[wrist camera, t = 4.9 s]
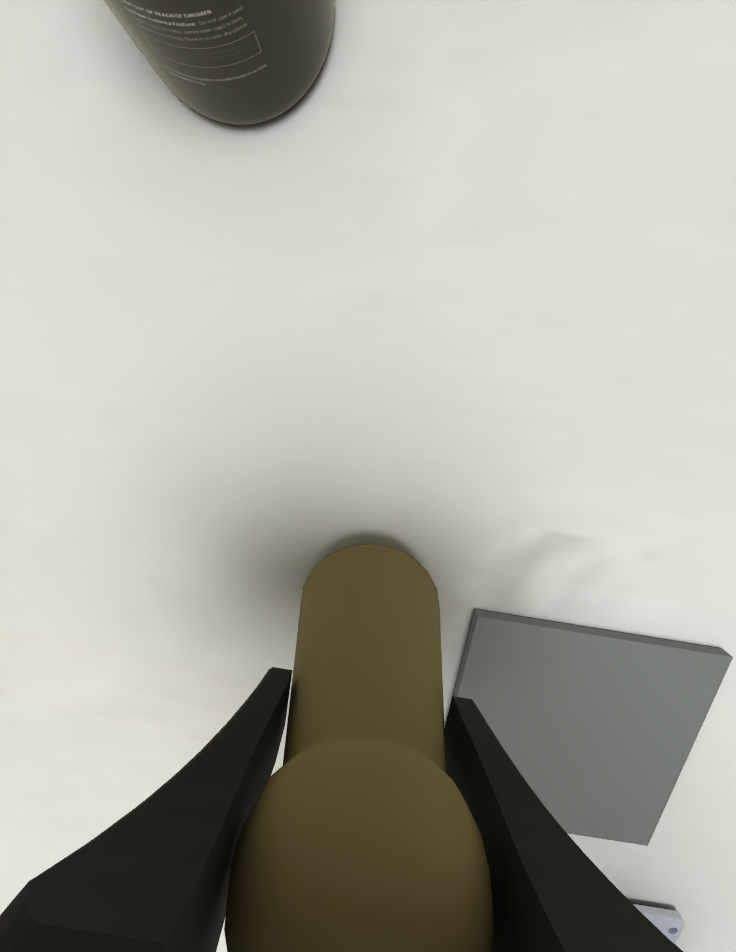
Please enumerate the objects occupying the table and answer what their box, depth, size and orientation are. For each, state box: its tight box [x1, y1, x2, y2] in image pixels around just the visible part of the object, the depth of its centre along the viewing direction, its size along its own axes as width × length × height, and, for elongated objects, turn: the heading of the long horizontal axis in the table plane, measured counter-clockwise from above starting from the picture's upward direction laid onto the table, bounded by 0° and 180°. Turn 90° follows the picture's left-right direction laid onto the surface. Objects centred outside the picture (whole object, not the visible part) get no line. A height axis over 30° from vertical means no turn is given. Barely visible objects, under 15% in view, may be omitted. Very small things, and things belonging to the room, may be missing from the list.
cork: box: [224, 544, 494, 952], centre depth 11 cm, size 6×6×11 cm
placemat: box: [453, 609, 733, 846], centre depth 20 cm, size 12×12×1 cm
